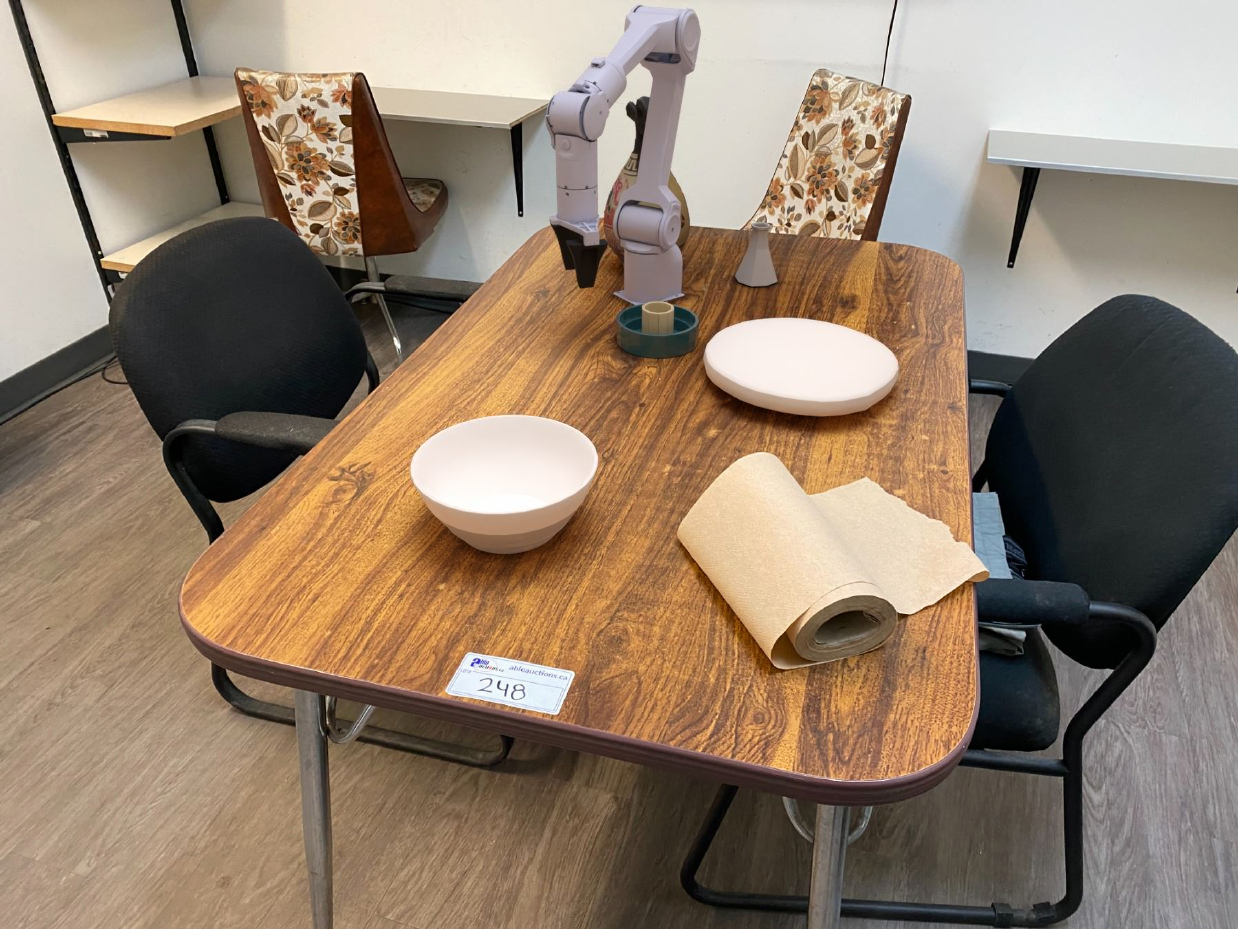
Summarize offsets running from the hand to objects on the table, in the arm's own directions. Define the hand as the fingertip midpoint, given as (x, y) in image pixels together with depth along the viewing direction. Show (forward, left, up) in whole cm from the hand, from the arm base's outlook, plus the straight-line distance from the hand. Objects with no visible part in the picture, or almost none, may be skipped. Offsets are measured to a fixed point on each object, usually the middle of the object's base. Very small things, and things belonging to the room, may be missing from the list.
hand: (579, 277), depth 134 cm
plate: (-17, +29, -10) cm, 35 cm away
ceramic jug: (-28, -19, -10) cm, 35 cm away
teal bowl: (-9, +8, -10) cm, 15 cm away
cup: (-9, +8, -10) cm, 15 cm away
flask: (-40, -3, -10) cm, 41 cm away
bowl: (+33, +34, -10) cm, 49 cm away
